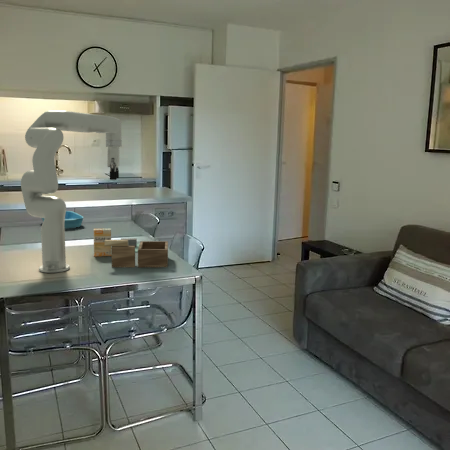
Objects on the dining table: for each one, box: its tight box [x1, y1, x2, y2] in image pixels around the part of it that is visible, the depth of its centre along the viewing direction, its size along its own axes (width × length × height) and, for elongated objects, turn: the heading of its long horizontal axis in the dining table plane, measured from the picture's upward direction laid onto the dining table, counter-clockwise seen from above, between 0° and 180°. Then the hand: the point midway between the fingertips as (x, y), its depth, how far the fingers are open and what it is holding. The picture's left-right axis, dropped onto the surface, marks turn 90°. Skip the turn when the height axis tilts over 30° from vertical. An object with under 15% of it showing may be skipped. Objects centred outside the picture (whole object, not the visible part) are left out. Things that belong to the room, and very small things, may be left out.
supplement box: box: [93, 228, 112, 258], centre depth 236 cm, size 8×5×13 cm, turn 105°
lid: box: [120, 237, 140, 253], centre depth 252 cm, size 18×13×5 cm
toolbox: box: [111, 240, 169, 268], centre depth 224 cm, size 18×24×9 cm
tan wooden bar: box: [104, 239, 128, 247], centre depth 215 cm, size 2×10×2 cm, turn 96°
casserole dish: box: [41, 210, 84, 230], centre depth 314 cm, size 37×22×7 cm, turn 34°
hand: (114, 178), depth 242 cm, fingers open, 9 cm apart
